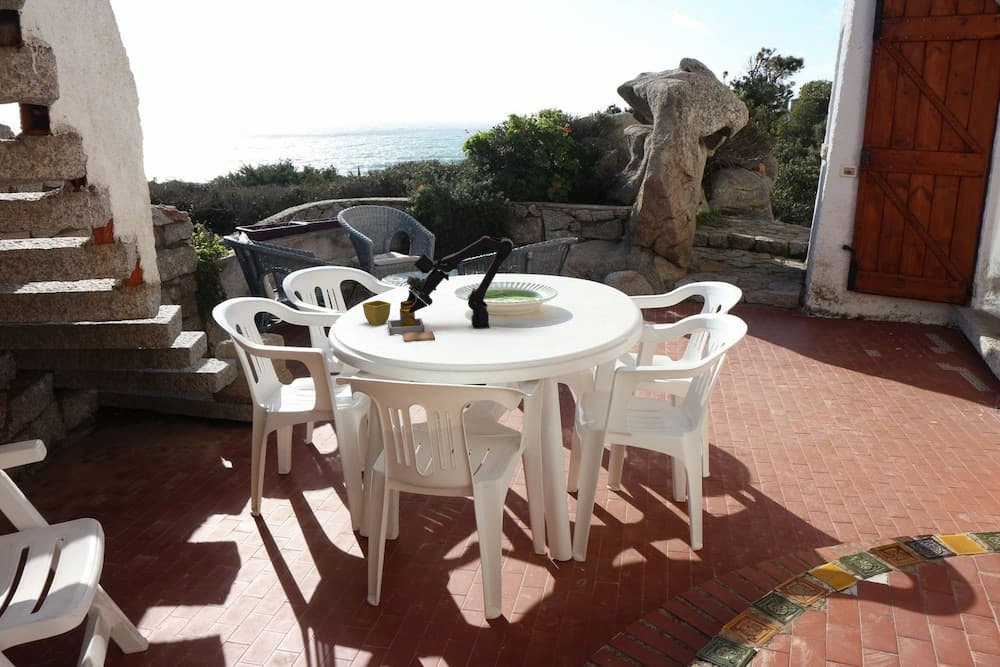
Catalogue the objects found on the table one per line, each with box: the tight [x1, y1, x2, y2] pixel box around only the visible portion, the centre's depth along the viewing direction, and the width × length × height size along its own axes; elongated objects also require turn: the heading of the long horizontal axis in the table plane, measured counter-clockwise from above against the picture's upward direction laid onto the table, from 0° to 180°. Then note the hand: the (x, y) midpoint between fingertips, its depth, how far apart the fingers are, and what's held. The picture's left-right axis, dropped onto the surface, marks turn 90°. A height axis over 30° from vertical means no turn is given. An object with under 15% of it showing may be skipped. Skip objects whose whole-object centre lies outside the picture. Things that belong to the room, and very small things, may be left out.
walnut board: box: [402, 330, 436, 343], centre depth 291 cm, size 12×10×1 cm
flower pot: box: [362, 299, 392, 326], centre depth 313 cm, size 9×9×9 cm
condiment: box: [399, 300, 416, 327], centre depth 301 cm, size 7×8×12 cm
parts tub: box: [387, 317, 426, 336], centre depth 302 cm, size 14×13×3 cm
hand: (406, 310), depth 301 cm, fingers open, 9 cm apart
